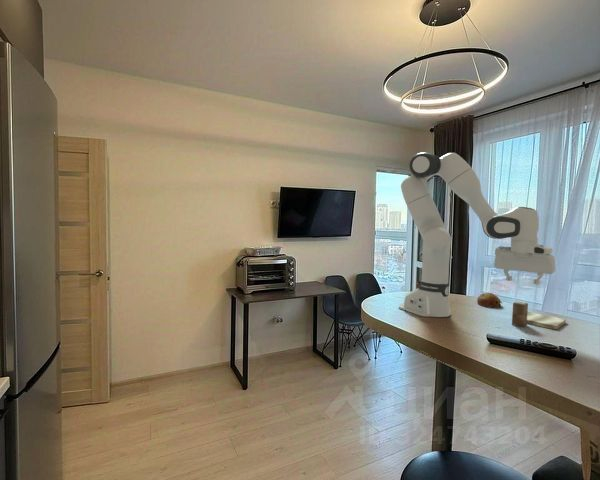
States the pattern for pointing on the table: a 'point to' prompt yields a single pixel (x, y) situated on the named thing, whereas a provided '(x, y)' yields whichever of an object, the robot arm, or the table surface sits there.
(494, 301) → the bread roll
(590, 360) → the table surface
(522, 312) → the walnut block
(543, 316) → the board
